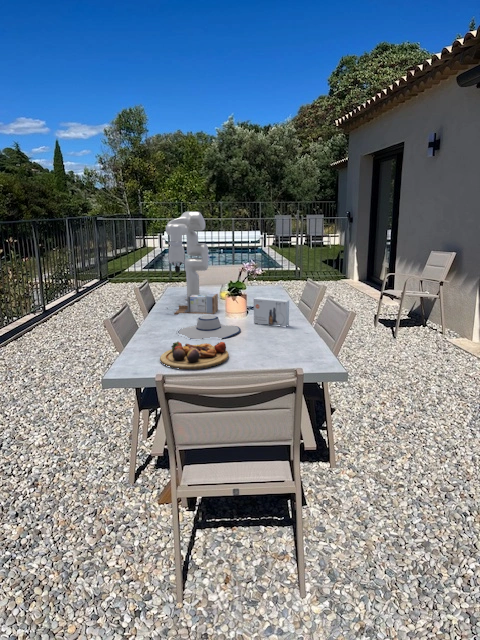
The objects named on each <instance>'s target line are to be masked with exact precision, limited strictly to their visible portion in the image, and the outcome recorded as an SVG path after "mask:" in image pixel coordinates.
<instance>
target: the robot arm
mask: <svg viewBox="0 0 480 640" xmlns="http://www.w3.org/2000/svg"><path fill="white" fill-rule="evenodd" d="M205 229H206V221H205V219H204V216H203V215H202V213H201V212H200V211H185V212H183V213H182V214H181V216H180V217H178V218H175V219H172V220H169V221H168V223H167V224H166V226H165V232H166V234H167V235H168V236H169V238H170V239H169V242H168V245H169V248H168V262H169V264H172V265H173V266H174V271H175V273H176V274H177V273H180V271H181V266H182V265H183V264H184V269H185V275H186V295H187V296H186V297H185V298H184V299H185V301H187V297H189V296H190V295H201V294H200V276H199V274H198V272H199V271H201V272H202V271H203V272H205V271H208V268H209V247H208V245H207V243H205V242H199V236H198V234H197V233H196V231H197V232H198V231H204V230H205ZM183 236H186V252H185V248H184V246H183ZM186 254H187V255H188V256H189V257H188V258H186ZM197 271H198V272H197Z"/></svg>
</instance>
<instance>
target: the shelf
mask: <svg viewBox="0 0 480 640" xmlns="http://www.w3.org/2000/svg"><path fill="white" fill-rule="evenodd" d="M214 294H215V295H214V296H213V297H212V311H213V313H201V312H184V311H185V310H186V309H188V305H185V304H184V305H183V304H182V305H180V304H179V305H178V309H177V310H176V311H175V312H174V313H173V314H174V315H180V314H194V315H195V314H201V315H216V313H217V312H218V310H219V301H218V300H219V297H218V295H219V294H218V293H214Z"/></svg>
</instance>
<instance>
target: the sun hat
mask: <svg viewBox="0 0 480 640" xmlns="http://www.w3.org/2000/svg"><path fill="white" fill-rule="evenodd" d="M197 319H198V320H197V322H196V325H193V326H191V325H190V326H187V327H183V329H182V328H179V329H180V330H179V329H178V330H179V331H178V330H177V331H178V333H179V334H182V335H185V336H187V337H188V338H190V339H189V340H191V339H202V338H210V337H218V338H224V339H227V338H230V337H232V336H235V335H237V334H239V333H240V332H241V331H242V330H241V327H239V326H237V325H226V326H225V325H224V324H223V323H221V320H220V319H219V317H218V316H217V315H215V314H204V315H202V316H199V317H198V318H197Z"/></svg>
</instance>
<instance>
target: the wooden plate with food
mask: <svg viewBox="0 0 480 640" xmlns="http://www.w3.org/2000/svg"><path fill="white" fill-rule="evenodd" d="M229 355H230V354H229V352H228V350H227V345H226V342H224V341H220V342H217V343H216V344H215V345H212V344H211V343H200V344H190V343H185V344H184V345H182V343H181V342H179V341H175V342H173V343H172V345H171V349H169V350H166V351H165V352H163V353H162V354H161V355H160V356H159V357H160V358H159V361H161V362H162V363H163V364H165V365H167V366H170V367H173V368H179V369H197V370H202V369H201V368H205V369H208V368H207V367H210V368H212V367H211V366H214V367H216V366H215V365H217V366H219V365H218V364H220V365H221V363H222V364H224V363H225V362H226V361H227V360H228V359H229ZM161 362H160V363H161ZM223 362H224V363H223ZM162 363H161V364H162ZM163 364H162V365H163ZM173 368H172V369H173ZM179 369H178V370H179Z"/></svg>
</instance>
